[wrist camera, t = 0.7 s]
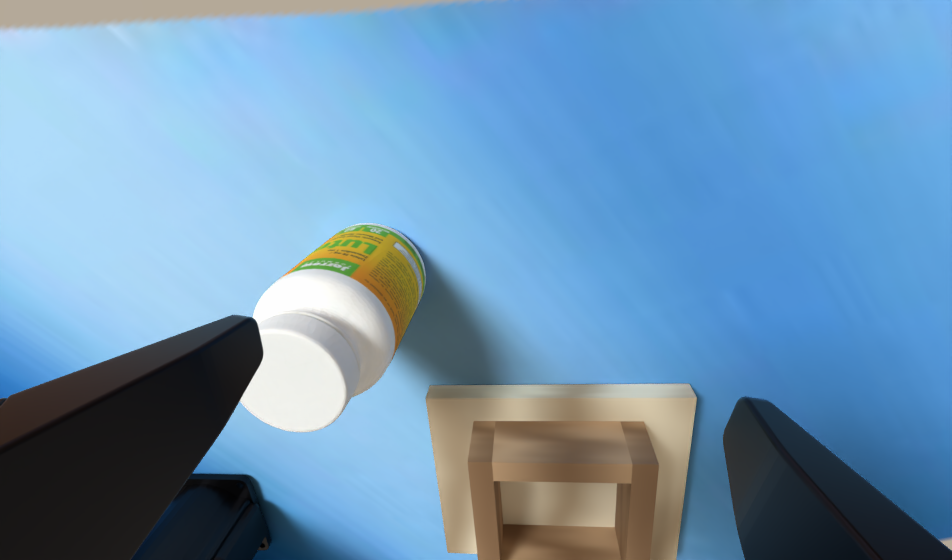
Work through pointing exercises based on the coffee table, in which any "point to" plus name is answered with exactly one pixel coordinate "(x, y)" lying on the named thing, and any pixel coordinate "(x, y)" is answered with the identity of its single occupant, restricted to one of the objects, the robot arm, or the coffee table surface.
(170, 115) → the coffee table surface
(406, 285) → the supplement bottle
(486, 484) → the collar board
